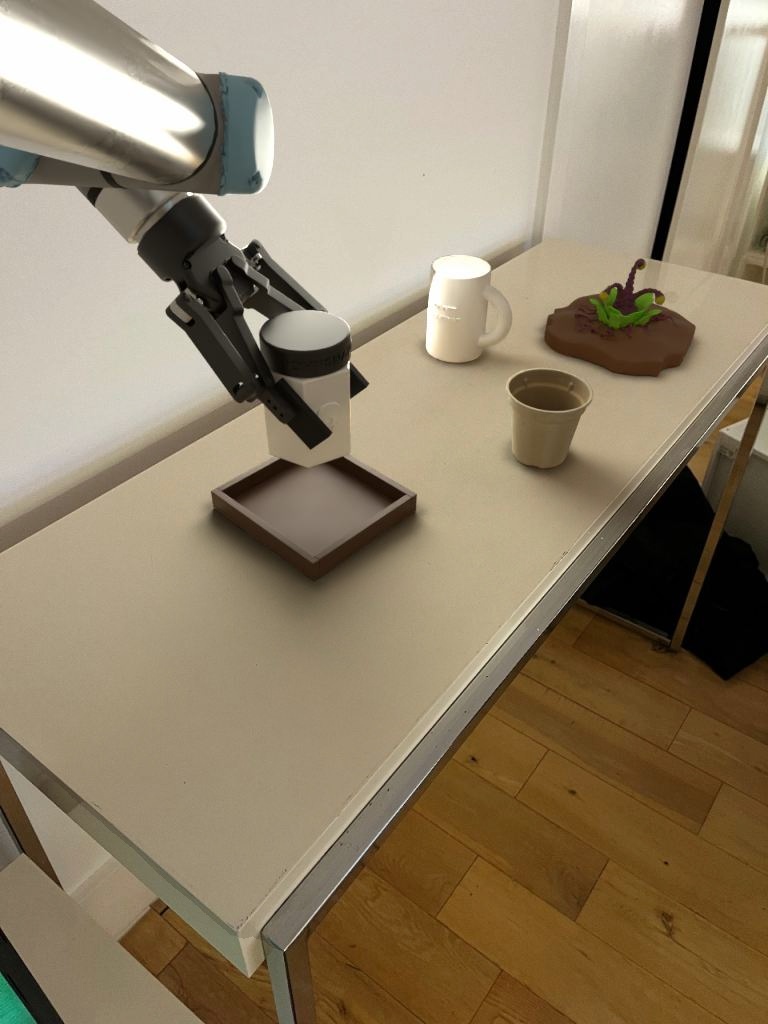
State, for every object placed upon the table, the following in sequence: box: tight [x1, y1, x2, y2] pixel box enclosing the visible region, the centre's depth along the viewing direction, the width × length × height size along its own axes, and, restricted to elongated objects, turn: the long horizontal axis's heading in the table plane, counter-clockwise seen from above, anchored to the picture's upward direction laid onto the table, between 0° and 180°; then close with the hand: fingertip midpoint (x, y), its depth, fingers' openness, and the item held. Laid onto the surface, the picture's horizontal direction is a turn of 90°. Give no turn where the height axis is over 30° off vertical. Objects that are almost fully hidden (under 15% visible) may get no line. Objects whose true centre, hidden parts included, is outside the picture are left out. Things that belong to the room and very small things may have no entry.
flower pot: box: [505, 367, 594, 469], centre depth 87 cm, size 9×9×9 cm
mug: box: [425, 254, 513, 364], centre depth 104 cm, size 8×12×12 cm
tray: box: [210, 454, 418, 582], centre depth 81 cm, size 15×16×2 cm
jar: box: [258, 310, 353, 468], centre depth 72 cm, size 9×8×12 cm
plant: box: [543, 258, 697, 377], centre depth 109 cm, size 20×20×11 cm
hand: (341, 415), depth 73 cm, fingers closed on jar, 8 cm apart
